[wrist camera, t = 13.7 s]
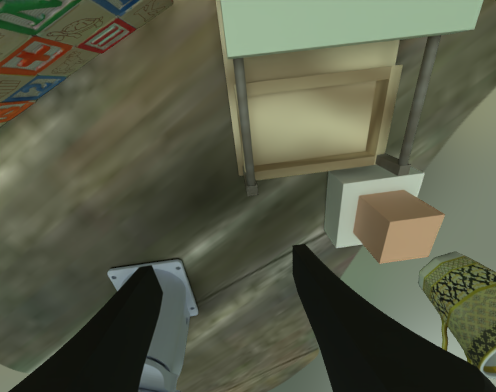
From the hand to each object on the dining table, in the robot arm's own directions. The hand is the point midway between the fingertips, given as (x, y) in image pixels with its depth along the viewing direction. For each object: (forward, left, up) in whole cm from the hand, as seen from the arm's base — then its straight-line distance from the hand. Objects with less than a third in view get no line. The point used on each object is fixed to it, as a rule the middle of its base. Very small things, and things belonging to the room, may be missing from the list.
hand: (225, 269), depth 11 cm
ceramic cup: (-18, -26, -11) cm, 33 cm away
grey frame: (+8, -8, -10) cm, 15 cm away
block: (-3, -13, -7) cm, 16 cm away
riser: (-3, -13, -10) cm, 17 cm away
